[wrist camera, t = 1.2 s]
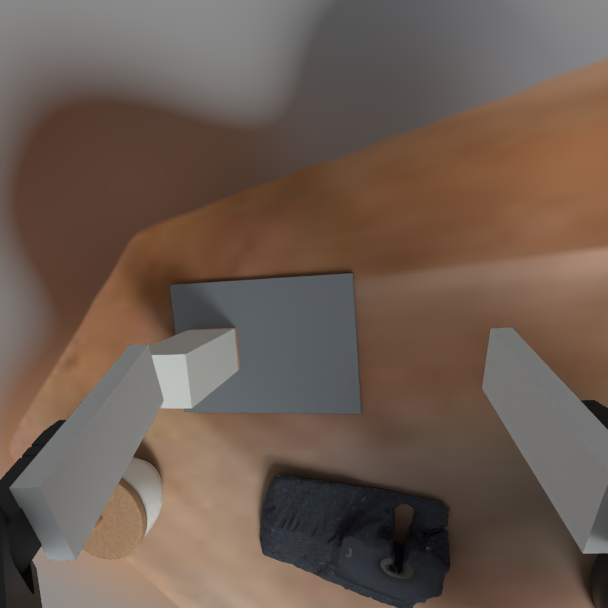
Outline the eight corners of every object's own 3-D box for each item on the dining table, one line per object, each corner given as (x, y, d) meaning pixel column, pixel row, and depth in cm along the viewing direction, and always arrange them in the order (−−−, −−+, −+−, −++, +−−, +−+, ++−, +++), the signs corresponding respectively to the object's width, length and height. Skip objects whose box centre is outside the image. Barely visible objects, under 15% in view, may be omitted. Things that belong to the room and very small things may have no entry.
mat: (361, 411, 45) (361, 413, 44) (187, 409, 50) (184, 411, 49) (352, 272, 43) (352, 273, 42) (172, 284, 48) (169, 285, 47)
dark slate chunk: (277, 446, 48) (265, 467, 44) (459, 502, 45) (468, 531, 40) (255, 552, 51) (242, 582, 47) (426, 612, 47) (430, 652, 43)
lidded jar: (175, 446, 51) (129, 489, 42) (179, 522, 52) (136, 579, 43) (103, 438, 53) (45, 478, 44) (109, 511, 55) (54, 563, 46)
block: (240, 368, 47) (191, 408, 35) (194, 369, 48) (132, 407, 36) (236, 327, 46) (185, 354, 34) (189, 329, 47) (125, 355, 36)
